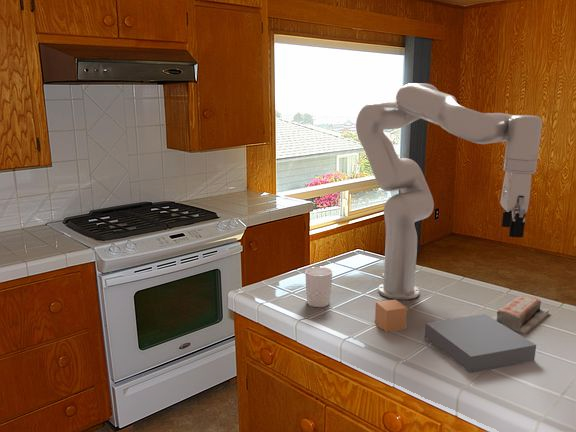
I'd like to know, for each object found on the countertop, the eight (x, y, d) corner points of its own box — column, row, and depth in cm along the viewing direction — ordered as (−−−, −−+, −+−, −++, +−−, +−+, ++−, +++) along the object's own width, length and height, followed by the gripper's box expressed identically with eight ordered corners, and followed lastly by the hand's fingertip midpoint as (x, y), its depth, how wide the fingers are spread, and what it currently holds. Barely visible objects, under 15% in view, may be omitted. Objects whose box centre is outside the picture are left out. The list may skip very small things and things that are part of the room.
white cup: (317, 310, 147) (318, 277, 145) (299, 302, 153) (299, 270, 151) (337, 303, 152) (337, 271, 150) (318, 295, 158) (319, 265, 155)
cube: (374, 322, 140) (375, 302, 138) (394, 319, 141) (395, 299, 140) (385, 331, 134) (386, 310, 133) (405, 328, 136) (406, 307, 134)
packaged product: (527, 318, 132) (489, 308, 138) (525, 336, 133) (488, 324, 140) (551, 299, 144) (515, 290, 151) (549, 314, 145) (513, 305, 152)
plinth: (424, 337, 131) (425, 322, 130) (483, 327, 136) (484, 313, 135) (469, 372, 114) (471, 356, 113) (534, 360, 120) (536, 344, 119)
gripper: (497, 160, 136) (490, 222, 140) (511, 170, 120) (502, 240, 124) (527, 161, 135) (519, 224, 139) (545, 171, 118) (535, 242, 122)
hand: (511, 231), depth 131 cm, fingers open, 9 cm apart
